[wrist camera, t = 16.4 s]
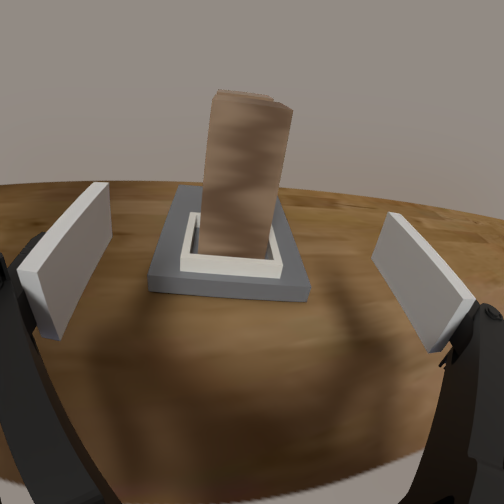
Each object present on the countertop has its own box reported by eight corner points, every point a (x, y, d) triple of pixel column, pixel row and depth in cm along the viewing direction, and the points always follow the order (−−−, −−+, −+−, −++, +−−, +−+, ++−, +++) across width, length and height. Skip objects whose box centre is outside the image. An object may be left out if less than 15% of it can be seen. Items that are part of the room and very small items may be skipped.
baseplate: (148, 291, 22) (148, 99, 15) (178, 196, 37) (187, 85, 30) (306, 302, 24) (355, 126, 17) (274, 205, 39) (294, 98, 32)
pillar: (197, 263, 23) (212, 99, 17) (201, 231, 28) (215, 94, 21) (262, 268, 24) (293, 110, 18) (256, 236, 28) (280, 102, 22)
